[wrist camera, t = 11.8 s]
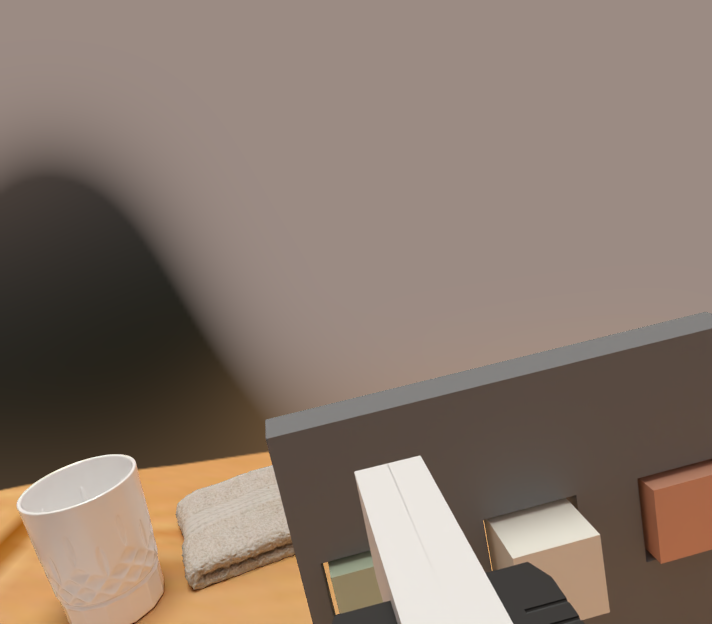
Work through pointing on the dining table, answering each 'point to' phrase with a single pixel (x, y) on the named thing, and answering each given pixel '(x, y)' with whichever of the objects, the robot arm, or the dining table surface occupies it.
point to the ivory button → (554, 551)
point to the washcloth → (233, 528)
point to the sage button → (354, 582)
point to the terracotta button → (677, 511)
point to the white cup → (95, 540)
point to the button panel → (520, 457)
